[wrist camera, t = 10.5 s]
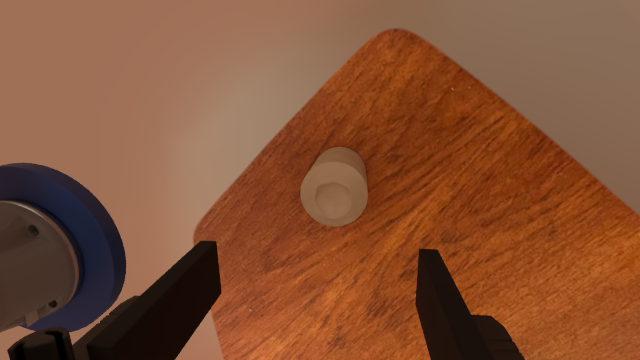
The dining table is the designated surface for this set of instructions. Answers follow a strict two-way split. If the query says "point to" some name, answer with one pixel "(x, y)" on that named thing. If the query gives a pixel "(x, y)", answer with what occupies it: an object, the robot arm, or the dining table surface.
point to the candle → (335, 187)
